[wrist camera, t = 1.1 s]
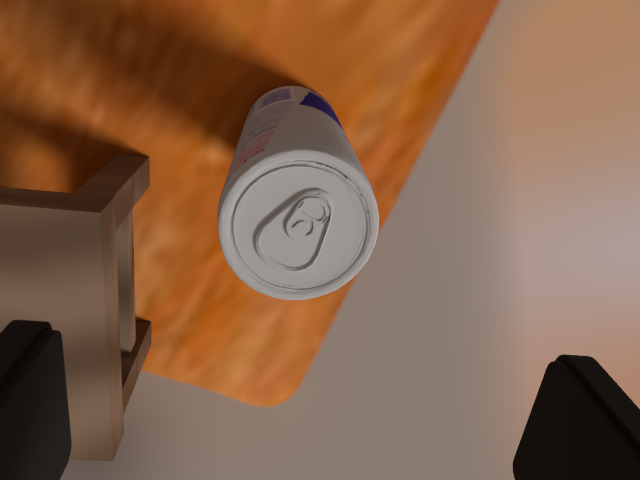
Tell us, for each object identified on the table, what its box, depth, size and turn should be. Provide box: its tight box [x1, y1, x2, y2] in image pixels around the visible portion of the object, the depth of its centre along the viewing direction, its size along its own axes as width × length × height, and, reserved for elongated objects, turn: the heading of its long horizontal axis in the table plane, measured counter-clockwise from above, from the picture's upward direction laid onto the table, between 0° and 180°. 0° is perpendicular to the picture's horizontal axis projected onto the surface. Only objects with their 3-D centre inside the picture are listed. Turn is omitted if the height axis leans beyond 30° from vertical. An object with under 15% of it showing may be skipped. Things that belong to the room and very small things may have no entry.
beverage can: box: [218, 86, 379, 300], centre depth 24 cm, size 6×6×15 cm
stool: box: [0, 154, 151, 461], centre depth 28 cm, size 14×14×10 cm
